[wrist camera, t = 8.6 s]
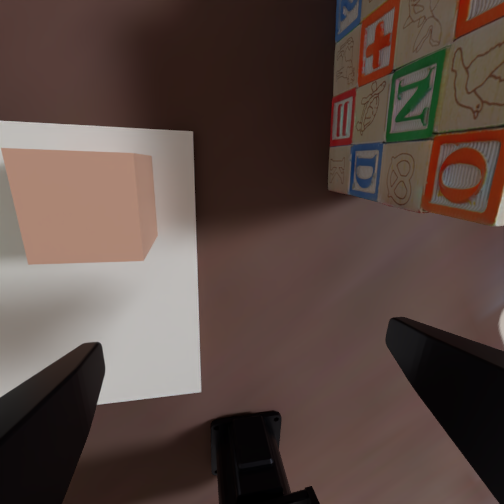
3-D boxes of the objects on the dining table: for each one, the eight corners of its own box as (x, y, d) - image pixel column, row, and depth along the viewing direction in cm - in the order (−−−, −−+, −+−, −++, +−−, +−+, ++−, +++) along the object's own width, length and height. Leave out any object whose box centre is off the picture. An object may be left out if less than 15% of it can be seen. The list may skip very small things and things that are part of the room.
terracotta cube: (157, 235, 18) (143, 261, 13) (74, 236, 17) (28, 264, 12) (151, 155, 16) (133, 152, 12) (59, 152, 16) (0, 147, 11)
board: (201, 386, 23) (201, 392, 23) (-153, 428, 19) (-164, 436, 18) (193, 132, 17) (192, 131, 16) (-336, 103, 13) (-361, 100, 12)
